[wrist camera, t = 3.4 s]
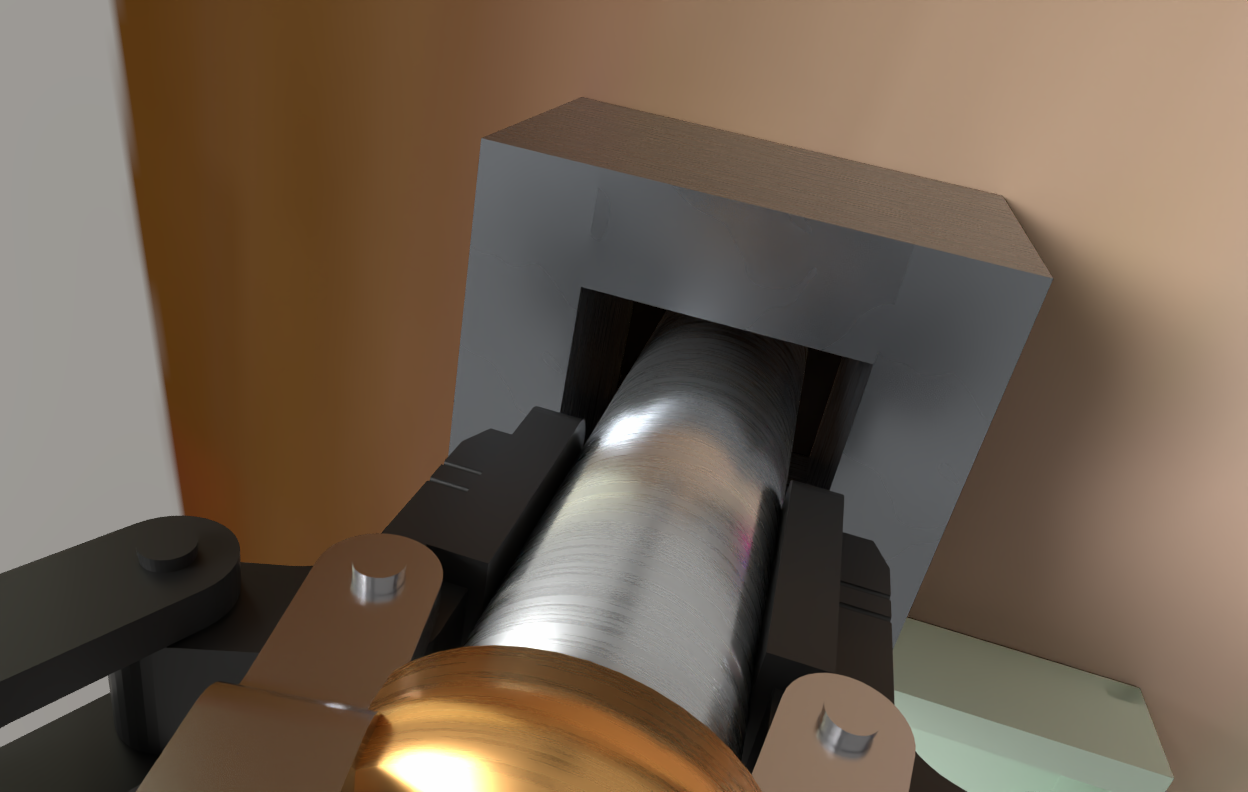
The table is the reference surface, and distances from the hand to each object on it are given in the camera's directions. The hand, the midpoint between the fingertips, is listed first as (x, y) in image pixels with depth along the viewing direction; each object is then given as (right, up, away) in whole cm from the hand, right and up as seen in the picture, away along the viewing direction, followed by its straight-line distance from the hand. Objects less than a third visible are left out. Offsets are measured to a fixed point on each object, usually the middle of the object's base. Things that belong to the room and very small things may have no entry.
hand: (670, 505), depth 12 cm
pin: (+2, +3, +6) cm, 7 cm away
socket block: (+2, +3, +6) cm, 7 cm away
